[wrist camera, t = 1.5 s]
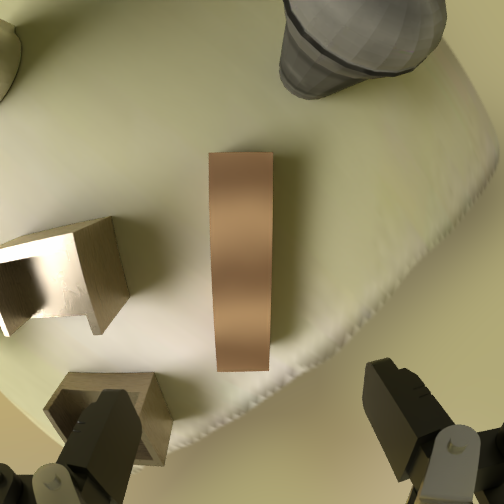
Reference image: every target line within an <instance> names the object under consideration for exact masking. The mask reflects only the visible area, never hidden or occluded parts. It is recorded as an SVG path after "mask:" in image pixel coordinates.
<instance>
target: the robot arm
mask: <svg viewBox="0 0 504 504" xmlns="http://www.w3.org/2000/svg"><path fill="white" fill-rule="evenodd" d="M14 31H15V26H13V25H11V24H10V23H8V22H6V21H4V20H2V19H0V101H1V100H2V98H3V97H4V96H5V94H6V93H7V91H8V89H9V88H10V86H11V84H12V82H13V80H14V78H15V76H16V73H17V70H18V67H19V63H20V59H21V42H20V40H19V38H18V37H17V36H16V35H15V32H14ZM362 400H363V407H364V410H365V413H366V415H367V417H368V419H369V421H370V423H371V425H372V427H373V429H374V431H375V434H376V436H377V438H378V440H379V442H380V444H381V446H382V448H383V450H384V452H385V454H386V457H387V458H388V461H389V463H390V465H391V467H392V469H393V471H394V474H395V476H396V478H397V480H398V482H401V481H404V480H407V479H409V478H410V480H411V482H412V484H413V486H412V488H411V491H410V493H409V496H408V499H407V501H406V504H473V502H472V499H473V493H474V494H475V496H476V498H477V500H478V502H479V504H504V423H503V425H502V426H501V427H500V428H496V429H492V430H487V431H483V432H476V431H475V430H474V429H472V428H471V427H468V426H465V425H455V424H454V422H453V421H452V420H451V418H450V417H449V416H448V414H447V413H446V412H445V410H444V409H443V408H442V406H441V405H440V404H439V402H438V401H437V400H436V399H435V397H434V396H433V395H431V392H430V391H429V389H428V388H427V387H425V384H424V383H423V382H422V381H421V379H420V378H419V377H418V375H416V374H415V373H413V372H411V371H410V370H408V369H406V368H403V369H398V368H397V367H396V365H395V364H394V363H393V361H392V360H391V359H390V358H384V359H380V360H376V361H372V362H368V363H367V364H366V368H365V377H364V387H363V396H362ZM141 436H142V424H141V421H140V418H139V416H138V414H137V412H136V410H135V408H134V406H133V403H132V401H131V399H130V397H129V395H128V393H127V391H126V390H124V389H103V390H102V392H101V394H100V396H99V397H98V399H97V401H96V402H92V403H91V404H90V405H89V406H88V407H87V408H86V409H84V410H83V411H82V413H81V415H80V417H79V419H78V421H77V424H76V425H75V426H74V428H73V432H71V434H70V436H69V438H68V440H67V442H66V444H65V446H64V448H63V450H62V452H61V454H60V456H59V458H58V460H57V462H56V463H49V464H46V465H43V466H41V467H40V468H39V469H38V470H37V471H36V472H35V473H34V475H16V474H15V473H14V471H13V470H12V469H11V468H10V467H9V466H8V465H6V464H3V463H0V504H123V500H124V496H125V492H126V489H127V485H128V481H129V478H130V474H131V471H132V467H133V464H134V460H135V457H136V453H137V450H138V446H139V443H140V440H141Z"/></svg>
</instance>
